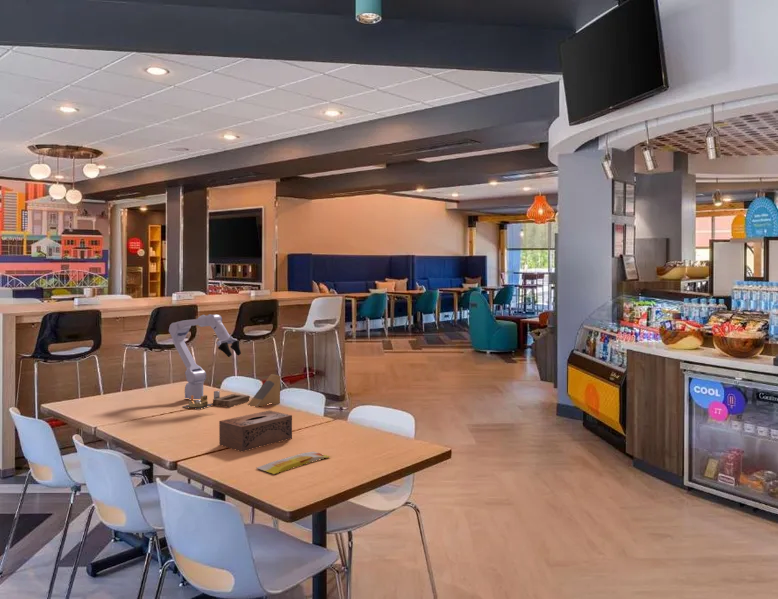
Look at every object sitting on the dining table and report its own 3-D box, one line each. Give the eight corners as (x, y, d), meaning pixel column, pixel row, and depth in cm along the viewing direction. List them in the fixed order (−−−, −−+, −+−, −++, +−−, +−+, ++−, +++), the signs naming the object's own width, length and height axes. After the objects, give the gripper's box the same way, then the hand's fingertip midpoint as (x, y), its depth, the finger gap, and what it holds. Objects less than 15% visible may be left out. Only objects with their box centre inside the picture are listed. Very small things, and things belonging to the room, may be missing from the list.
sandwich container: (246, 405, 324) (246, 376, 323) (271, 401, 335) (271, 373, 334) (255, 407, 318) (255, 378, 317) (280, 403, 329) (280, 375, 328)
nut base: (181, 407, 317) (181, 397, 316) (196, 403, 327) (196, 394, 326) (199, 409, 312) (199, 399, 312) (213, 405, 322) (213, 396, 322)
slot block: (212, 405, 323) (212, 399, 323) (232, 399, 337) (232, 394, 337) (230, 407, 318) (229, 401, 318) (249, 401, 333) (249, 395, 333)
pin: (212, 402, 328) (212, 391, 328) (216, 401, 331) (216, 390, 331) (217, 403, 327) (217, 392, 327) (220, 402, 330) (220, 391, 330)
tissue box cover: (241, 452, 240) (241, 426, 240) (219, 445, 249) (219, 421, 249) (292, 438, 260) (292, 415, 259) (269, 433, 269) (269, 410, 269)
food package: (273, 470, 212) (255, 464, 219) (273, 477, 212) (255, 471, 219) (331, 453, 233) (313, 448, 239) (331, 459, 233) (313, 454, 239)
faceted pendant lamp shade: (185, 405, 317) (185, 398, 317) (199, 402, 326) (199, 394, 326) (199, 407, 313) (199, 399, 313) (212, 403, 323) (212, 396, 322)
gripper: (218, 330, 320) (230, 352, 317) (236, 328, 333) (248, 349, 330) (209, 338, 322) (222, 359, 319) (227, 336, 335) (239, 357, 332)
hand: (234, 355), depth 325 cm, fingers open, 7 cm apart
